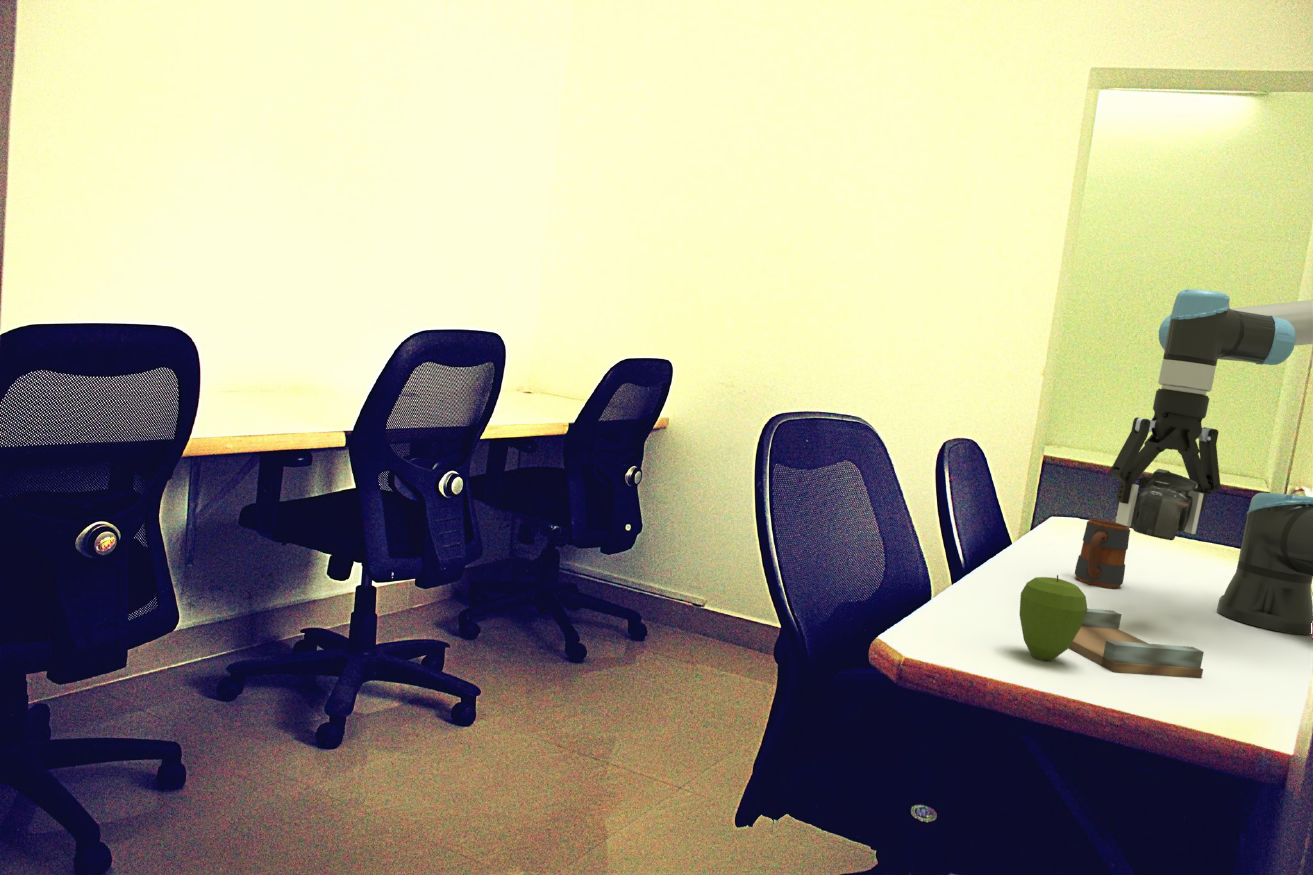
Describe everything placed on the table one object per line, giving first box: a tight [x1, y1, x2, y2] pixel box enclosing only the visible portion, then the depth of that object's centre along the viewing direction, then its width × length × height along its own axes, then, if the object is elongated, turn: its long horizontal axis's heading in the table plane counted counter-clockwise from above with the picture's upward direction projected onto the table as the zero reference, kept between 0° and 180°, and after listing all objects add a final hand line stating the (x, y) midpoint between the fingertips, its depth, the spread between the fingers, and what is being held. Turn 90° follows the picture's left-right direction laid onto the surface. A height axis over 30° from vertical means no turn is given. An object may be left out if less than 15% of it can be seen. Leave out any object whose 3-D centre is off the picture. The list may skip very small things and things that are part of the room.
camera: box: [1130, 468, 1198, 541], centre depth 166 cm, size 13×10×10 cm
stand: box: [1068, 607, 1205, 679], centre depth 151 cm, size 14×20×4 cm
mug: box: [1074, 518, 1131, 589], centre depth 201 cm, size 9×12×12 cm
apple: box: [1019, 574, 1089, 661], centre depth 141 cm, size 9×8×12 cm
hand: (1155, 528), depth 166 cm, fingers closed on camera, 11 cm apart
